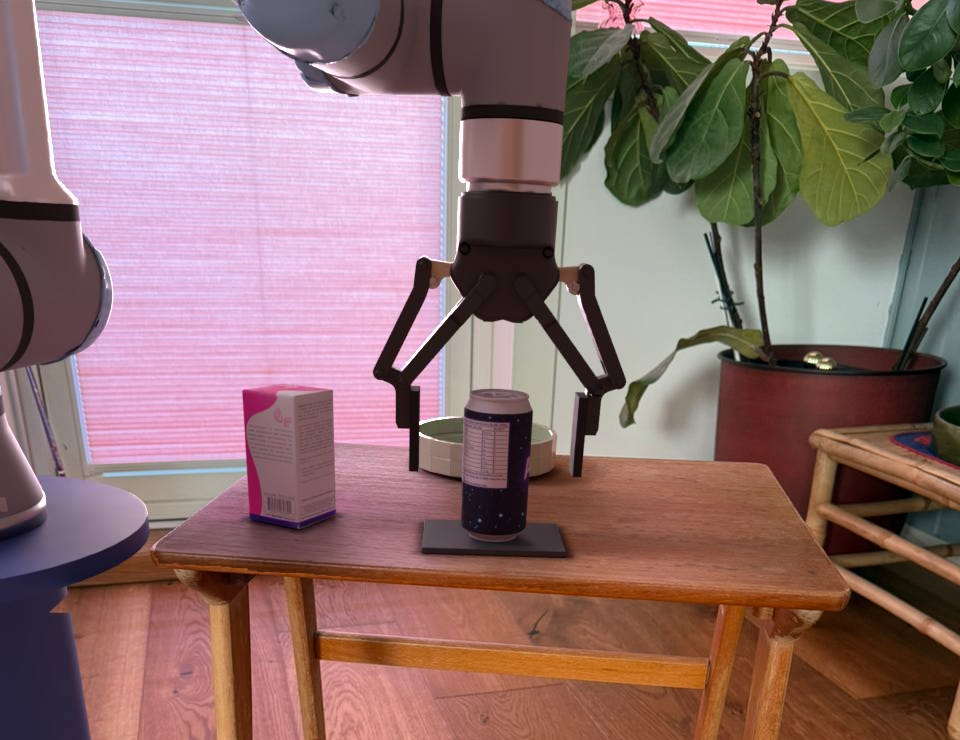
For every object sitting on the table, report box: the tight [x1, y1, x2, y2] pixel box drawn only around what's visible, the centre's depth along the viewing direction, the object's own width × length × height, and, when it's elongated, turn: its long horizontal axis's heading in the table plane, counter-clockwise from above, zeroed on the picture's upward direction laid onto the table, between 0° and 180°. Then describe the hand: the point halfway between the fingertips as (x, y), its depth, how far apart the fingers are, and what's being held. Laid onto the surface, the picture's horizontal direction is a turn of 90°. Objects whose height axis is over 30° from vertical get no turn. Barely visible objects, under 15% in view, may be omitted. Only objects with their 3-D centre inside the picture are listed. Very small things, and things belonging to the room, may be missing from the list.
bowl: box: [419, 416, 558, 479], centre depth 103 cm, size 16×16×4 cm
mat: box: [421, 518, 567, 558], centre depth 79 cm, size 12×8×1 cm, turn 92°
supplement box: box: [241, 383, 337, 530], centre depth 81 cm, size 6×6×12 cm
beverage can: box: [460, 388, 534, 542], centre depth 76 cm, size 6×6×12 cm
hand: (494, 471), depth 77 cm, fingers open, 13 cm apart
